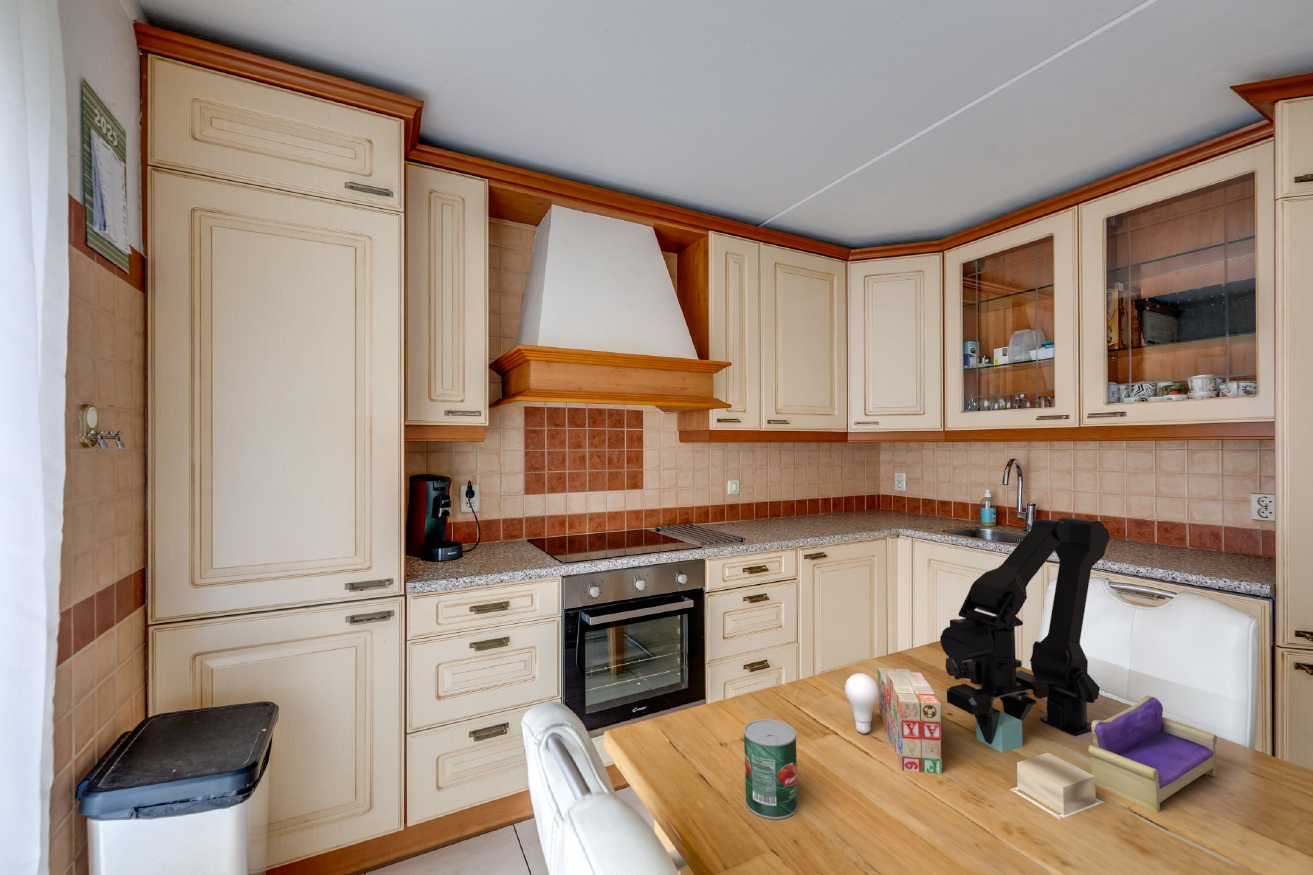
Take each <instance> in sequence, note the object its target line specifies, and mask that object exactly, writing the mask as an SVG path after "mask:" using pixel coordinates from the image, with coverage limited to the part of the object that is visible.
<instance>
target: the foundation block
mask: <svg viewBox="0 0 1313 875" xmlns="http://www.w3.org/2000/svg"><path fill="white" fill-rule="evenodd" d="M1016 773H1017V774H1016V776H1017V780H1016V781H1017V782H1016V783H1017V787H1018V789H1020V790H1019V791H1021V792H1023V793H1025V794H1027V795H1028V796H1031V797H1032V798H1034V799H1035V800H1037V801H1039V803H1042V804H1043V805H1045V806H1047V807H1048V808H1051V809H1052V810H1053V811H1056V812H1058V813H1059V814H1060V815H1061V814H1062V815H1066V814H1069V813H1072V812H1074V811H1077V810H1079V809H1082V808H1085V807H1087V806H1090V805H1093V804H1095V803H1096V798H1097V796H1096V794H1097V793H1096V785H1095V776H1094V775H1092V773H1090V772H1088V771H1085V770H1084V769H1081V768H1080V767H1078V766H1075V764H1074V765H1073V764H1072V763H1069V762H1068V761H1066V760H1064V759H1063V758H1062V759H1061V757H1058V756H1055V755H1053V754H1052V753H1049V752H1046V753H1042V754H1039V755H1036V756H1033V757H1029V758H1027V759H1024V760H1023V759H1022V760H1020V761H1017V762H1016Z"/></svg>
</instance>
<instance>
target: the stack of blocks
mask: <svg viewBox="0 0 1313 875" xmlns="http://www.w3.org/2000/svg"><path fill="white" fill-rule="evenodd" d="M877 685H878V687H879V692H880V695H879V699H878V701H879V714H880V717H881V719H882V722H883V726H884V728H885V731H886V734H887V737H888V738H889V741H890V744H891V746H892V748H893V749H894V753H896V756H897V757H896V758H897V761H898V764H899V766H900V770H901V771H902V772H904V771H905V772H918V773H928V774H930V773H931V774H939V775H942V774H943V758H942V741H941V740H942V704H941V702H940V700H939V699H938V697H937V696H936V693H935V691H934V690H933V688H932V687H931V686H930V684H929V682H928V681H927V680H926V679H925V677H924V676H923V674H922V673H921V672H912V671H911V670H910V669H906V668H905V669H904V668H880V667H878V668H877Z"/></svg>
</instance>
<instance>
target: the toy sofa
mask: <svg viewBox="0 0 1313 875" xmlns="http://www.w3.org/2000/svg"><path fill="white" fill-rule="evenodd" d="M1163 710H1164V708H1163V704H1162V703H1161V702H1160V700H1159V699H1158V698H1156V697H1153V696H1151V695H1146V696H1145V695H1144V697H1143V698H1142V699H1141V700H1140V701H1139V702H1137V703H1135V704H1134V705H1132V706H1130V707H1129V708H1126V709H1125V710H1122V711H1120V712H1119V713H1116V714H1115V715H1112V716H1111V717H1109V718H1107V719H1105V720H1098V719H1094V720H1092V721H1091V723H1090V724H1091V735H1092V744H1090V745H1089V746H1088V749H1087V750H1088V754H1089V755H1090V766H1091V767H1090V768H1091V774H1092V775H1094V776H1095V786H1098V787H1100V788H1102V789H1104V790H1107V791H1108V792H1111V793H1113V794H1115V795H1117V796H1120V797H1121V798H1124V799H1126V800H1129V801H1131V802H1132V803H1135V804H1137V805H1139V806H1141V807H1144V808H1146V809H1148V810H1150V811H1151V812H1154V813H1156V814H1157V813H1160V812H1161V803H1162V802H1163V801H1165V800H1166V799H1168V798H1169V797H1171V796H1172V795H1173V794H1175V793H1176V792H1178V791H1180V790H1181V789H1183V788H1184V787H1185V786H1187V785H1188V784H1189V785H1190V783H1192V782H1193V781H1195V780H1196V779H1198V778H1199V777H1201V776H1202V775H1204V774H1205V775H1207V776H1210V777H1216V774H1217V769H1216V767H1217V763H1216V762H1217V761H1216V744H1217V739H1218V738H1217V735H1216V734H1214V733H1211V732H1209V731H1206V730H1203V729H1199V728H1196V727H1192V726H1191V725H1188V724H1183V723H1182V722H1178V721H1174V720H1171V719H1170V718H1169V719H1168V718H1166V717H1163V714H1164V712H1163Z"/></svg>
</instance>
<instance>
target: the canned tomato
mask: <svg viewBox="0 0 1313 875" xmlns="http://www.w3.org/2000/svg"><path fill="white" fill-rule="evenodd" d="M743 738H744V739H743V743H744V746H743V747H744V750H743V751H744V781H745V782H744V786H745V787H744V788H745V804H746V807H747V808H748V810H749V811H750V812H751V813H753V814H754V815H756V816H757V817H760V818H763V819H767V820H776V821H777V820H784V819H788V818H790V817H792V816H793V815H795V813H797V811H798V808H799V802H798V774H797V773H798V770H797V768H798V767H797V766H798V765H797V732H796V730H795V728H794V727H793V726H792V725H791V724H788V723H787V722H785V721H782V720H777V719H769V718H761V719H756V720H753V721H749V722H748V723H747V724H745V726H744V727H743Z"/></svg>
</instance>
